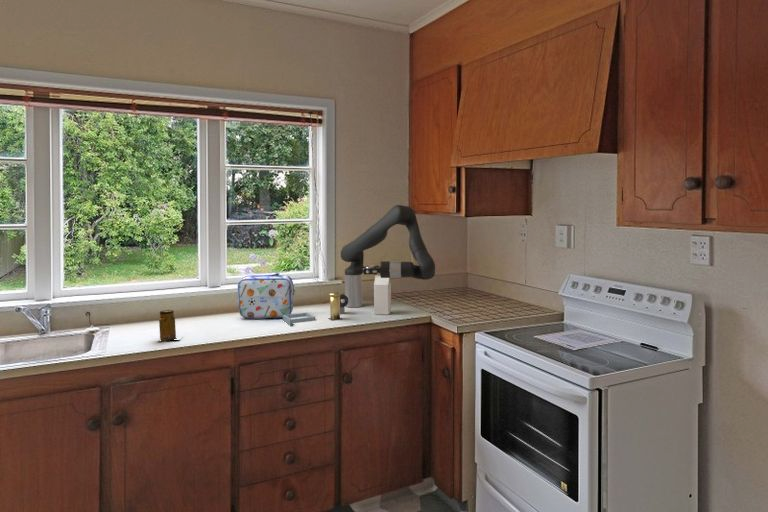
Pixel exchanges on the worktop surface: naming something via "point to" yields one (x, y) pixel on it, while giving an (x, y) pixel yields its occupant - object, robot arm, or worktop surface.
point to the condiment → (167, 325)
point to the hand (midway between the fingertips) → (355, 270)
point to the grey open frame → (290, 321)
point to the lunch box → (265, 296)
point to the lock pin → (335, 305)
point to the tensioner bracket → (342, 304)
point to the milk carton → (382, 295)
